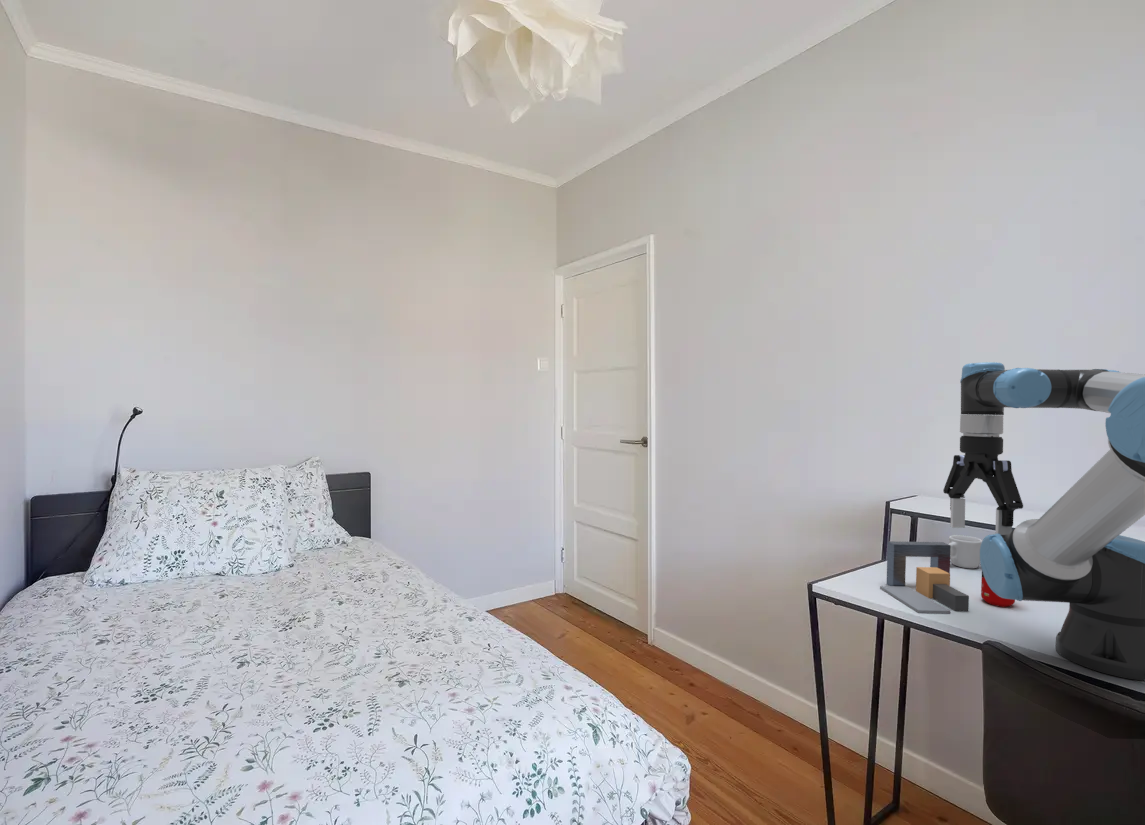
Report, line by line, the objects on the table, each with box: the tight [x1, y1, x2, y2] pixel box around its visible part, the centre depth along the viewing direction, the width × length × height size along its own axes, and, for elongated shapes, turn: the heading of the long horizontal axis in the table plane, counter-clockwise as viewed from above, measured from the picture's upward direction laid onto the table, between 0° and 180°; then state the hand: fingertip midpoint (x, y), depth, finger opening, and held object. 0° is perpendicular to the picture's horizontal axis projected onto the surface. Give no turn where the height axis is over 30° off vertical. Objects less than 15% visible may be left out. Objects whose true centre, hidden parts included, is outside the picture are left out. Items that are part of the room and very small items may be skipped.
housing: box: [886, 541, 951, 586], centre depth 143 cm, size 3×14×11 cm, turn 89°
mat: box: [879, 585, 951, 615], centre depth 133 cm, size 16×7×1 cm, turn 179°
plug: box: [915, 566, 970, 612], centre depth 133 cm, size 13×5×6 cm, turn 179°
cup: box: [947, 534, 983, 569], centre depth 160 cm, size 11×8×8 cm
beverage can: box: [980, 571, 1016, 608], centre depth 131 cm, size 6×6×12 cm
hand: (979, 534), depth 121 cm, fingers open, 13 cm apart
